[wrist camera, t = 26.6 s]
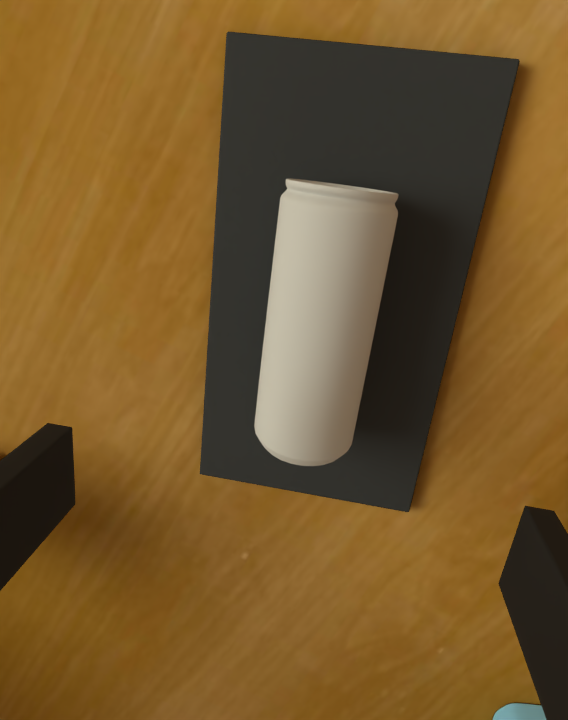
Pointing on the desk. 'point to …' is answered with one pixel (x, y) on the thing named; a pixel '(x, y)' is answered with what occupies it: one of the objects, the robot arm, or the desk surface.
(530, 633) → the robot arm
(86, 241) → the desk surface
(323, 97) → the mat
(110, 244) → the desk surface
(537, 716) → the vase
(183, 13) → the desk surface
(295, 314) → the beverage can
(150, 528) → the desk surface
